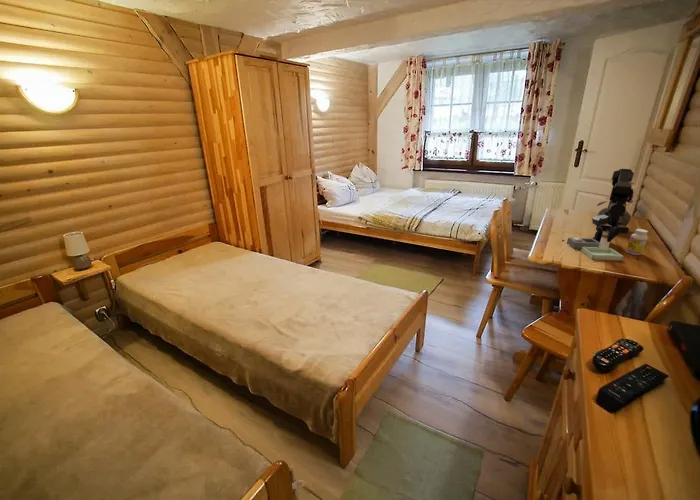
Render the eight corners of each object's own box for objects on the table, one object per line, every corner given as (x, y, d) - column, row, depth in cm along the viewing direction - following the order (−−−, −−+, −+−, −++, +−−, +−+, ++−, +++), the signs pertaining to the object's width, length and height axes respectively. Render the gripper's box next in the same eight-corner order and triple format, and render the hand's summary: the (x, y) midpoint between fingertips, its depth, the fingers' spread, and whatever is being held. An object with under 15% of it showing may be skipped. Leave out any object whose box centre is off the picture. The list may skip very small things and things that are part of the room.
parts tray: (609, 252, 170) (610, 248, 169) (622, 260, 160) (623, 256, 159) (580, 251, 172) (582, 246, 171) (591, 259, 162) (593, 255, 161)
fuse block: (591, 244, 181) (593, 237, 180) (599, 249, 174) (601, 242, 172) (566, 243, 183) (568, 236, 181) (573, 248, 176) (575, 241, 174)
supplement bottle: (622, 250, 172) (630, 228, 167) (634, 250, 172) (643, 228, 167) (631, 255, 166) (640, 232, 161) (644, 255, 166) (653, 232, 161)
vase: (630, 233, 196) (648, 185, 184) (597, 231, 201) (612, 183, 190) (619, 225, 211) (634, 180, 199) (588, 223, 216) (601, 178, 204)
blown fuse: (605, 247, 166) (610, 230, 163) (609, 250, 163) (615, 233, 159) (596, 246, 167) (601, 230, 163) (600, 249, 163) (606, 233, 160)
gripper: (587, 205, 166) (579, 233, 173) (608, 216, 150) (598, 246, 156) (610, 206, 165) (601, 234, 171) (634, 216, 148) (624, 247, 154)
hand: (605, 240), depth 163 cm, fingers closed on blown fuse, 4 cm apart
